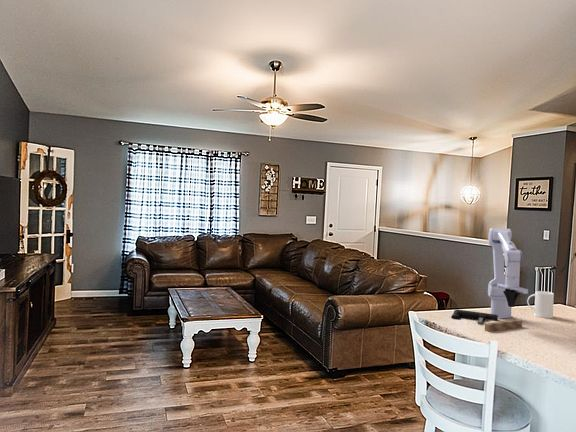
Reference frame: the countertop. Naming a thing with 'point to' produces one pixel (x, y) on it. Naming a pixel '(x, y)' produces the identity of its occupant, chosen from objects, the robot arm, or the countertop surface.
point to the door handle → (473, 315)
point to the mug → (543, 304)
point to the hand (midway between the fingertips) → (511, 306)
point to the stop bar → (503, 325)
